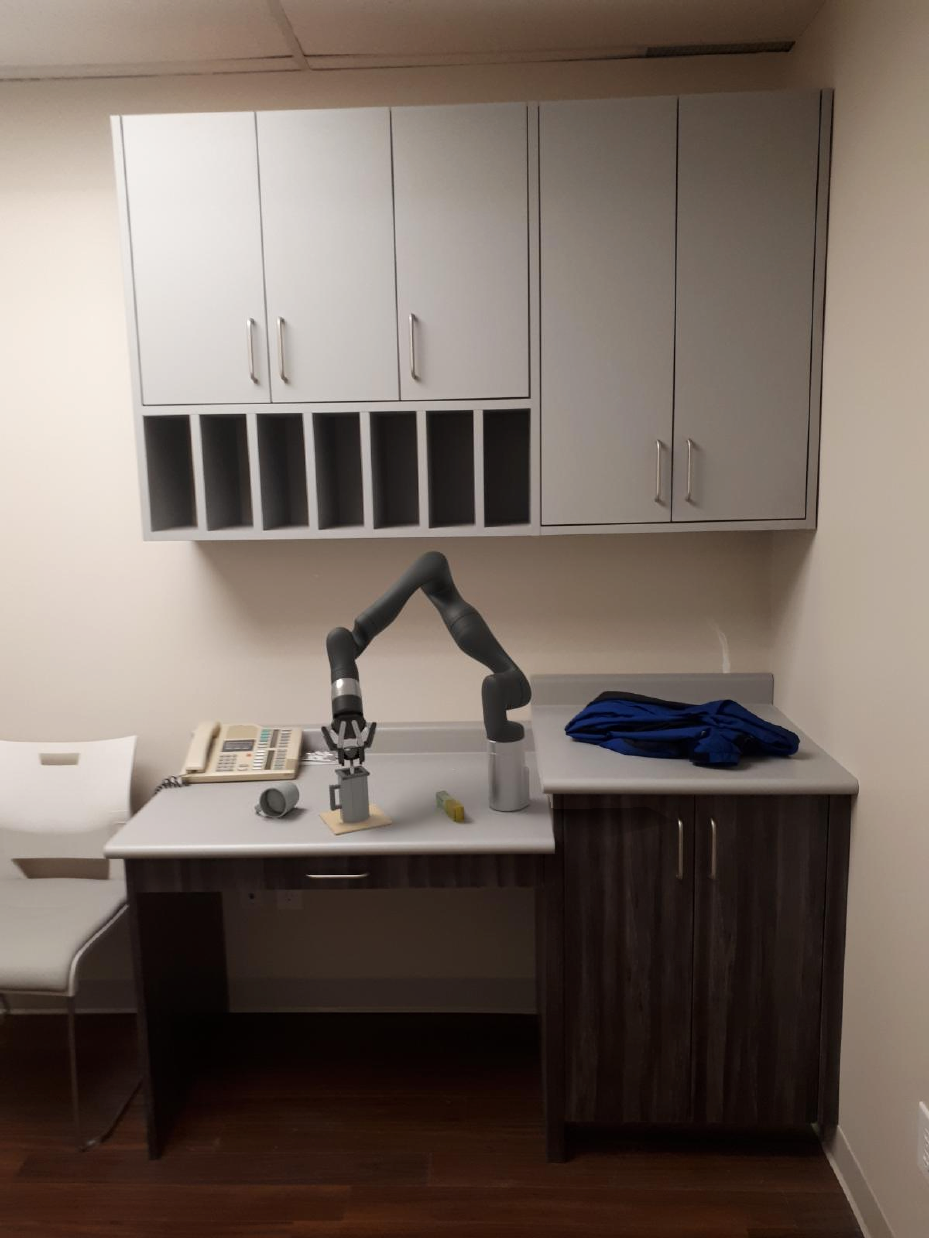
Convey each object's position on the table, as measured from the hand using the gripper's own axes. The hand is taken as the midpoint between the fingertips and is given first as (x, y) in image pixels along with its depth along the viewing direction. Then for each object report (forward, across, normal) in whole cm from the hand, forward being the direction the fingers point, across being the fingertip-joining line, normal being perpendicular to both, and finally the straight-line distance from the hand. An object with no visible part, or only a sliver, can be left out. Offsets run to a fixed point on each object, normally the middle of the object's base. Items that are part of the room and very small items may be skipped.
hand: (351, 763), depth 212 cm
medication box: (+11, -23, -10) cm, 27 cm away
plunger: (+6, 0, -9) cm, 11 cm away
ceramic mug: (+2, +19, -19) cm, 27 cm away
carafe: (+9, 0, -12) cm, 15 cm away
